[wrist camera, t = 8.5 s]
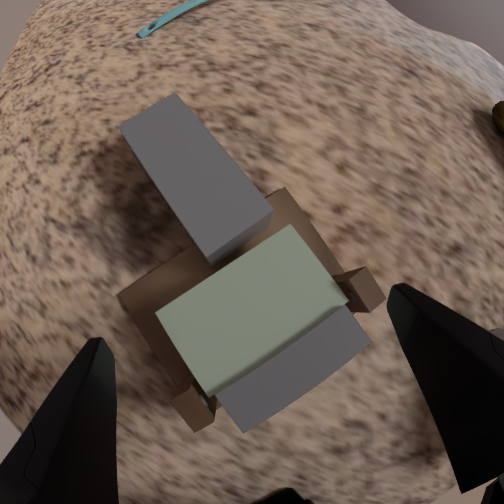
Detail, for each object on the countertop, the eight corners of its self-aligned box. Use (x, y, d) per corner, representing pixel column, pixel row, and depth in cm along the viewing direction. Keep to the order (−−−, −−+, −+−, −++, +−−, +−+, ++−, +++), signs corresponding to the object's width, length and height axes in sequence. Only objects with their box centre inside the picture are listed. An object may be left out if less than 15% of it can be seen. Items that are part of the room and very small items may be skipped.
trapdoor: (238, 429, 16) (235, 437, 15) (161, 315, 19) (152, 311, 17) (368, 338, 18) (378, 336, 16) (288, 231, 20) (291, 220, 19)
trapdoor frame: (202, 415, 20) (194, 446, 15) (120, 294, 21) (89, 290, 16) (363, 304, 22) (399, 303, 17) (284, 188, 23) (298, 156, 18)
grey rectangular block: (274, 209, 18) (174, 92, 20) (206, 257, 18) (118, 126, 19) (267, 227, 22) (182, 121, 24) (211, 267, 22) (132, 152, 23)
